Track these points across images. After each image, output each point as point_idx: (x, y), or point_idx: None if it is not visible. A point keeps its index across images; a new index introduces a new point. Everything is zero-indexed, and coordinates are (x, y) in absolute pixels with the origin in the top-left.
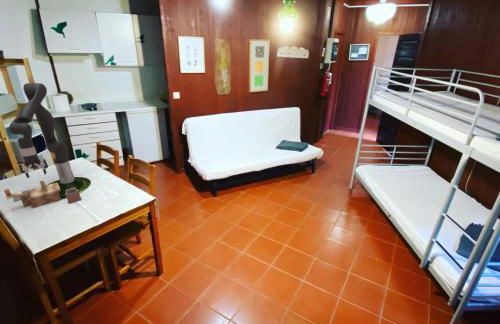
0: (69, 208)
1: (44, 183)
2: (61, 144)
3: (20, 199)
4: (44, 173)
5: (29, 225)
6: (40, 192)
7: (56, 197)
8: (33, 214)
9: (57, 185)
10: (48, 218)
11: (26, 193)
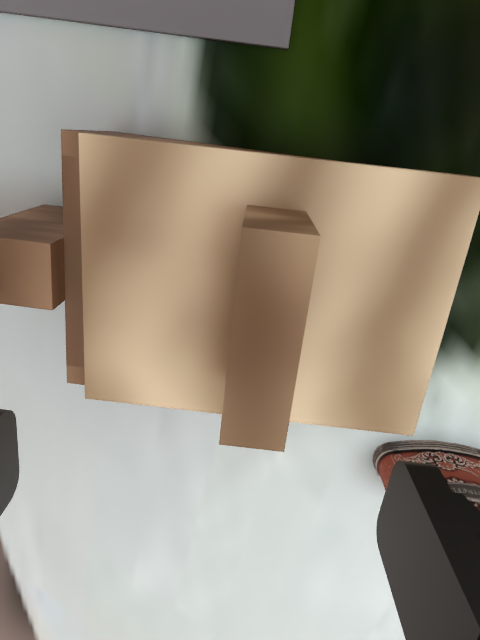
0: (345, 536)
1: (287, 387)
2: None
3: (6, 10)
4: (393, 567)
5: (71, 551)
6: (198, 352)
7: None
8: (106, 435)
9: (439, 300)
10: (188, 556)
11: (38, 255)
